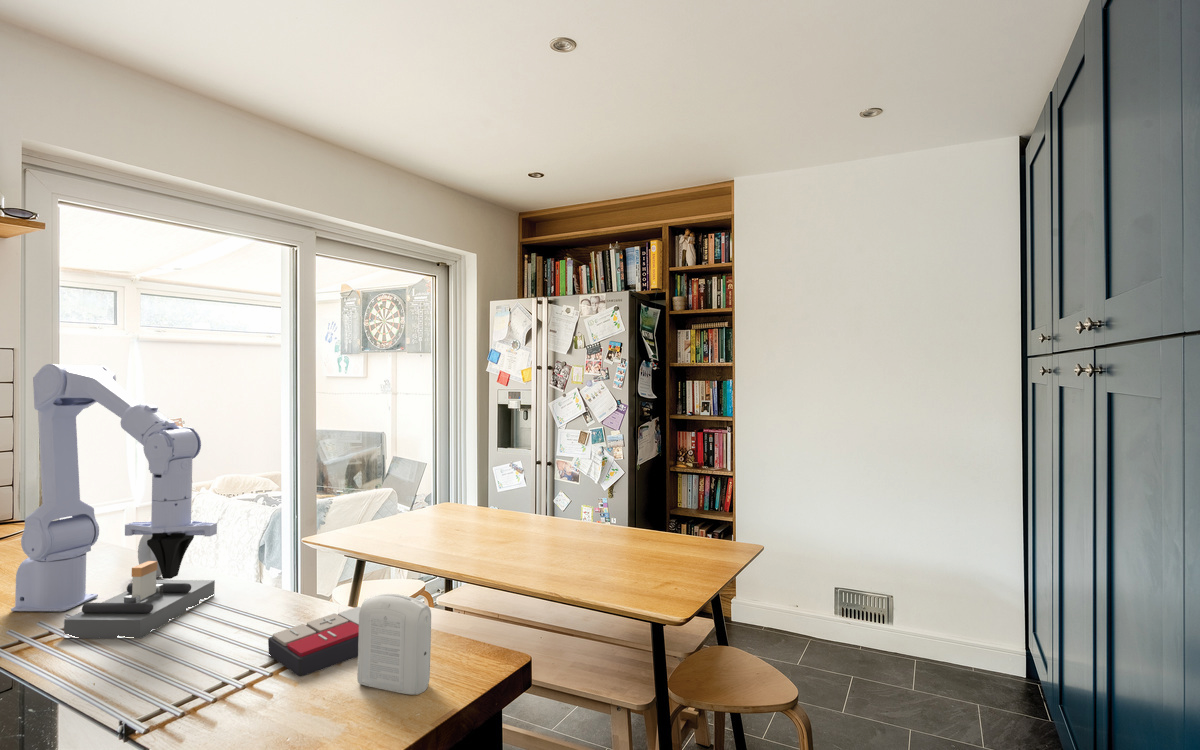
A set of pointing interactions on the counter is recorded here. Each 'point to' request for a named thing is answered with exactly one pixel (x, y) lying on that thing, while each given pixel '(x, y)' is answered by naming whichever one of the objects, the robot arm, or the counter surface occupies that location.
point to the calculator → (317, 643)
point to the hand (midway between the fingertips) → (170, 576)
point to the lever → (144, 580)
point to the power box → (137, 610)
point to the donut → (147, 553)
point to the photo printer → (394, 644)
